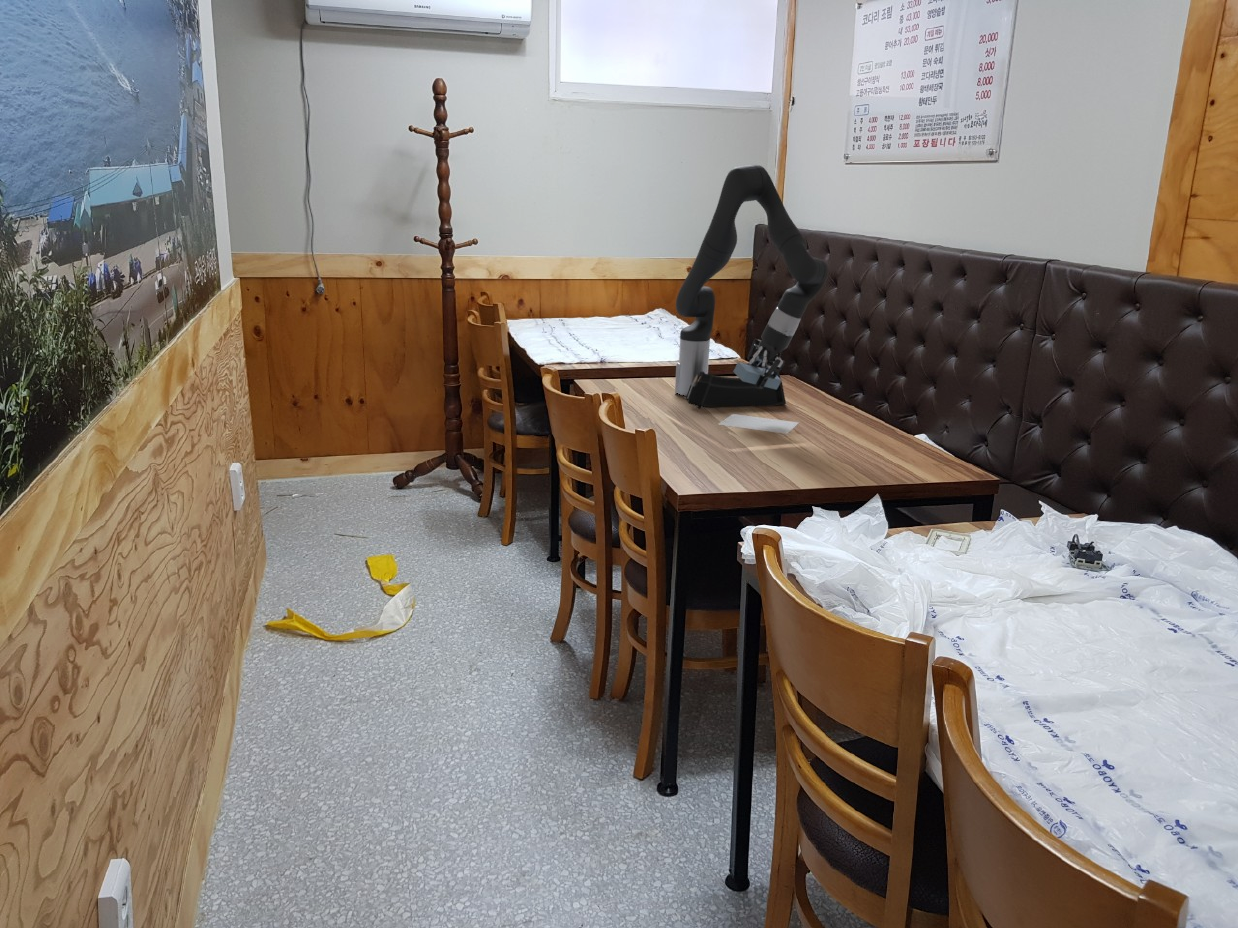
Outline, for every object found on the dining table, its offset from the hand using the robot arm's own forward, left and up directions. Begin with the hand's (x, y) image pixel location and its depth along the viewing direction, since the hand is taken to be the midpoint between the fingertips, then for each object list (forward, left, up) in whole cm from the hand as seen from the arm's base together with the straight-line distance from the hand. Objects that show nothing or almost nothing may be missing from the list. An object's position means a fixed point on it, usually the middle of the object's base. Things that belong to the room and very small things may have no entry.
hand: (753, 382), depth 242 cm
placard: (+5, +5, 0) cm, 7 cm away
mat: (+3, -3, -11) cm, 12 cm away
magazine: (-8, +15, -11) cm, 20 cm away
